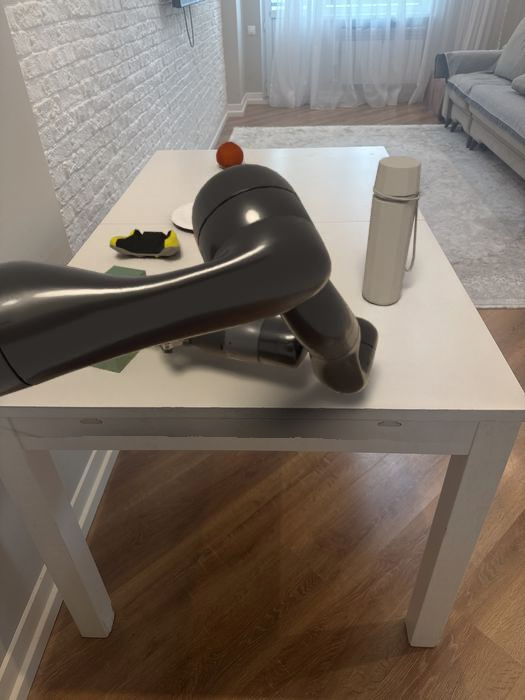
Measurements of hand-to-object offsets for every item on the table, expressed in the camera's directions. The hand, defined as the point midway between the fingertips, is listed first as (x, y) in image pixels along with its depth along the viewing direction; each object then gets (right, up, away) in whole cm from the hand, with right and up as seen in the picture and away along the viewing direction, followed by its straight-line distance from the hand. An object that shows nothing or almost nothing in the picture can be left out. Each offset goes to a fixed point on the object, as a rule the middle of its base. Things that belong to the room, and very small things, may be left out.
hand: (135, 314), depth 77 cm
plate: (+7, +28, +49) cm, 57 cm away
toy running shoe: (-5, +16, +34) cm, 38 cm away
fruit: (+10, +54, +83) cm, 99 cm away
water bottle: (+43, +4, +16) cm, 46 cm away
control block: (-3, -5, +6) cm, 8 cm away
